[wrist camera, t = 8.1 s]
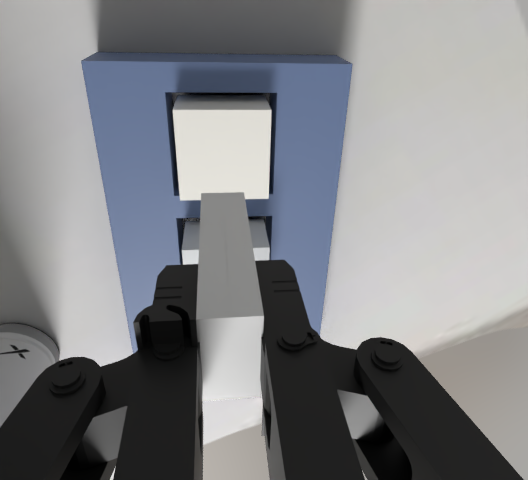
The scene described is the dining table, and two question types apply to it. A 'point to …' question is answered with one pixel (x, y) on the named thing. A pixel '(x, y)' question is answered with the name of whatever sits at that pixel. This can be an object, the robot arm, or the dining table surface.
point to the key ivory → (222, 145)
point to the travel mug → (21, 362)
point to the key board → (165, 162)
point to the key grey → (193, 232)
